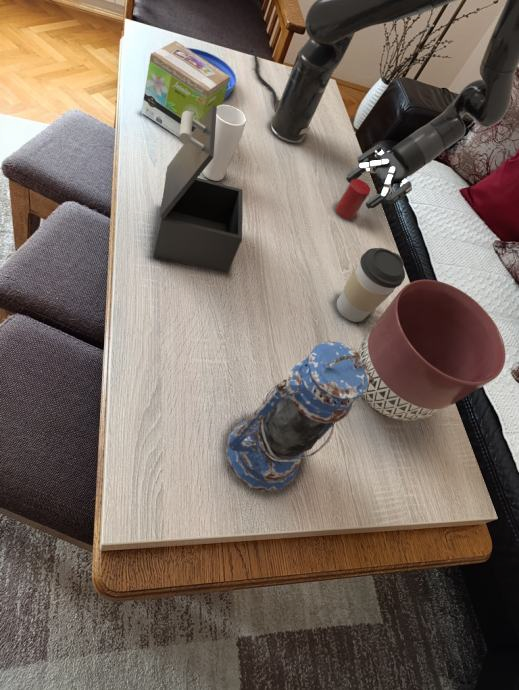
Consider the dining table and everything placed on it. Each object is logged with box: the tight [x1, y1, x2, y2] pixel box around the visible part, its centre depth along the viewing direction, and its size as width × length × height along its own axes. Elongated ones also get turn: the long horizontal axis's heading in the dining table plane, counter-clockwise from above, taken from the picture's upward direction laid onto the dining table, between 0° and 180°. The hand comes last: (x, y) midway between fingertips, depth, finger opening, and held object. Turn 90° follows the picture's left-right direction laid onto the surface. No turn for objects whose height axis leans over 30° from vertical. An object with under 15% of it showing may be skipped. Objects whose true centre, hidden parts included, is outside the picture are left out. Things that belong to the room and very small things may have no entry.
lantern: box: [225, 340, 374, 493], centre depth 68 cm, size 15×12×30 cm
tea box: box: [141, 40, 230, 138], centre depth 113 cm, size 15×10×15 cm, turn 62°
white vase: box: [201, 104, 247, 182], centre depth 107 cm, size 7×7×15 cm
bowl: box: [186, 47, 237, 100], centre depth 131 cm, size 18×18×4 cm
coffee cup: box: [336, 247, 406, 323], centre depth 98 cm, size 9×9×15 cm
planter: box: [357, 279, 506, 422], centre depth 86 cm, size 20×20×21 cm
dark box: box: [152, 177, 244, 274], centre depth 96 cm, size 15×14×10 cm
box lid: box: [159, 105, 217, 219], centre depth 84 cm, size 15×14×5 cm
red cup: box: [335, 178, 371, 221], centre depth 118 cm, size 5×5×8 cm
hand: (357, 193), depth 117 cm, fingers open, 8 cm apart
